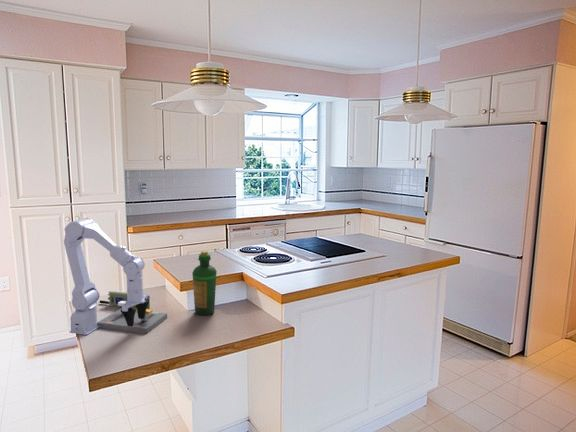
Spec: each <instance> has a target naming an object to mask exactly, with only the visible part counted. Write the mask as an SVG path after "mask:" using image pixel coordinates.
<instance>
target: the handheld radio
mask: <svg viewBox="0 0 576 432" xmlns="http://www.w3.org/2000/svg"><path fill="white" fill-rule="evenodd" d="M107 295H108V297H107V299H108V300H109V301H108V300H99V301H98V302H99V304H104V305H109V307H115V308H122V306H118V302H120V301H127V292H120V291H110V290H109V291H108V294H107ZM150 296H151V295H148V299H146V300H149V304H148V306H147V308H146V309H150V305H151V304H150V303H151V302H150V298H151V297H150ZM132 309H133V310H137V307H136V305H135V306H133V307H132Z"/></svg>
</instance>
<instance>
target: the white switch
mask: <svg viewBox="0 0 576 432" xmlns="http://www.w3.org/2000/svg"><path fill="white" fill-rule="evenodd" d="M125 302H126V301H120V302H118V306H123V305H124V304H125Z"/></svg>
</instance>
